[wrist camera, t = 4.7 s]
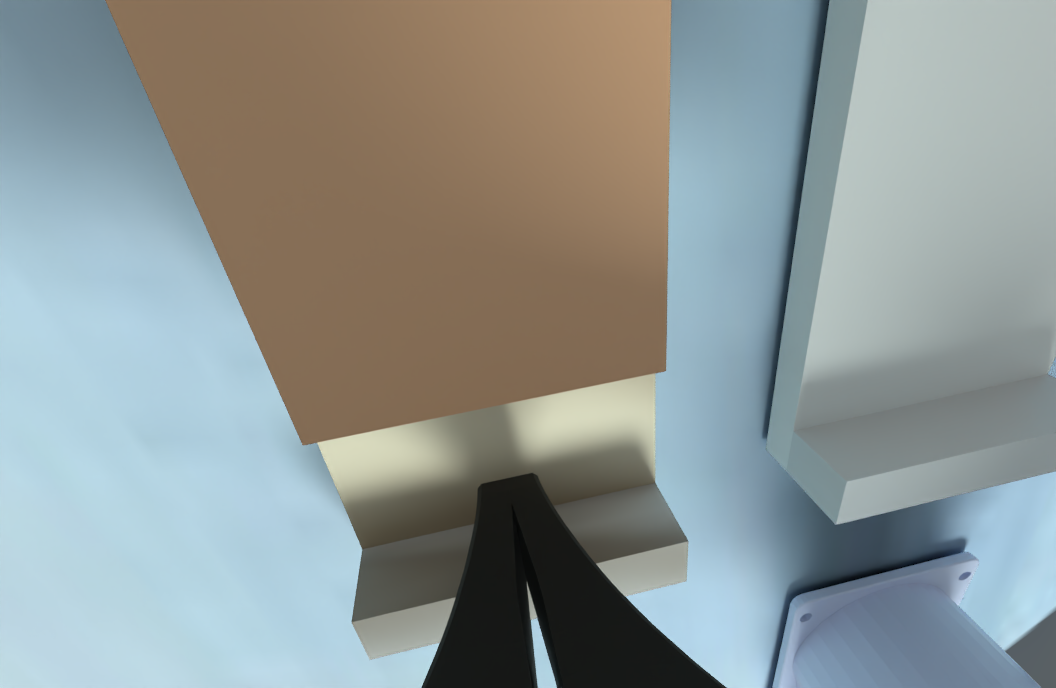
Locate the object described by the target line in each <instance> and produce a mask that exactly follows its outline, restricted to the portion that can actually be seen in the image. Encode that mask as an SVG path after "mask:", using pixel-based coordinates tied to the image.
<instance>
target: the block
mask: <svg viewBox="0 0 1056 688" xmlns="http://www.w3.org/2000/svg"><path fill="white" fill-rule="evenodd" d="M105 1H106V3H107V5H108V8H109V10H110V12H111V14H112V17H113V19H114V21H115V23H116V26H117V28H118V30H119V32H120V35H121V37H122V39H123V41H124V44H125V46H126V48H127V50H128V53H129V55H130V57H131V59H132V62H133V64H134V66H135V68H136V71H137V73H138V75H139V77H140V80H141V82H142V84H143V86H144V89H145V91H146V93H147V95H148V98H149V100H150V102H151V104H152V107H153V109H154V111H155V113H156V116H157V118H158V120H159V123H160V125H161V127H162V129H163V132H164V134H165V136H166V138H167V141H168V143H169V145H170V147H171V150H172V152H173V154H174V156H175V159H176V161H177V163H178V165H179V168H180V170H181V172H182V174H183V177H184V179H185V181H186V183H187V186H188V188H189V190H190V192H191V195H192V197H193V199H194V201H195V204H196V206H197V208H198V210H199V213H200V215H201V217H202V219H203V222H204V224H205V226H206V228H207V231H208V233H209V235H210V237H211V240H212V242H213V244H214V246H215V249H216V251H217V253H218V255H219V258H220V260H221V262H222V264H223V267H224V269H225V271H226V273H227V276H228V278H229V280H230V282H231V285H232V287H233V289H234V291H235V294H236V296H237V298H238V300H239V303H240V305H241V307H242V309H243V312H244V314H245V316H246V318H247V321H248V323H249V325H250V327H251V330H252V332H253V334H254V336H255V339H256V341H257V343H258V345H259V348H260V350H261V352H262V354H263V357H264V359H265V361H266V363H267V366H268V368H269V370H270V372H271V375H272V377H273V379H274V381H275V384H276V386H277V388H278V390H279V393H280V395H281V397H282V399H283V402H284V404H285V406H286V408H287V411H288V413H289V415H290V418H291V420H292V422H293V424H294V427H295V429H296V431H297V433H298V436H299V438H300V440H301V442H302V445H308V444H313V443H318V442H322V441H327V440H332V439H337V438H342V437H347V436H352V435H357V434H361V433H366V432H371V431H376V430H381V429H386V428H391V427H396V426H400V425H405V424H410V423H415V422H420V421H425V420H430V419H435V418H439V417H444V416H449V415H454V414H459V413H464V412H469V411H474V410H479V409H483V408H488V407H493V406H498V405H503V404H508V403H513V402H518V401H522V400H527V399H532V398H537V397H542V396H547V395H552V394H557V393H561V392H566V391H571V390H576V389H581V388H586V387H591V386H596V385H600V384H605V383H610V382H615V381H620V380H625V379H630V378H635V377H639V376H644V375H649V374H654V373H659V372H664V371H666V336H667V266H668V196H669V125H670V55H671V0H105Z"/></svg>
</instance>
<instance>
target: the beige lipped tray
mask: <svg viewBox="0 0 1056 688" xmlns="http://www.w3.org/2000/svg"><path fill="white" fill-rule="evenodd" d="M318 446H319V448H320V451H321V453H322V455H323V458H324V460H325V462H326V465H327V467H328V469H329V472H330V474H331V476H332V479H333V481H334V483H335V486H336V488H337V491H338V493H339V495H340V498H341V500H342V502H343V505H344V507H345V509H346V512H347V514H348V516H349V519H350V521H351V524H352V526H353V528H354V531H355V533H356V535H357V538H358V540H359V542H360V545H361V547H362V556H361V562H360V569H359V576H358V583H357V589H356V596H355V603H354V609H353V616H352V624H353V626H354V628H355V630H356V632H357V634H358V636H359V638H360V640H361V642H362V645H363V647H364V649H365V651H366V653H367V655H368V657H369V659H370V660H371V659H375V658H379V657H383V656H387V655H391V654H396V653H400V652H404V651H408V650H412V649H416V648H420V647H424V646H428V645H432V644H436V643H440V641H441V639H442V636H443V633H444V631H445V628H446V625H447V622H448V619H449V617H450V614H451V611H452V608H453V605H454V601H455V598H456V595H457V591H458V588H459V585H460V581H461V578H462V574H463V571H464V567H465V563H466V559H467V555H468V550H469V546H470V542H471V537H472V533H473V527H474V521H475V515H476V508H477V492H478V487H479V486H480V485H481V484H483V483H487V482H492V481H496V480H501V479H506V478H510V477H515V476H519V475H524V474H529V473H534V474H536V475H537V476H538V478H539V480H540V483H541V485H542V487H543V489H544V491H545V492H546V494H547V496H548V498H549V499H550V501H551V503H552V504H553V506H554V508H555V509H556V511H557V512H558V514H559V515H560V517H561V518H562V520H563V521H564V523H565V524H566V526H567V527H568V528H569V530H570V531H571V532H572V534H573V535H574V537H575V538H576V539H577V541H578V542H579V543H580V545H581V546H582V547H583V549H584V550H585V551H586V552H587V554H588V555H589V556H590V557H591V559H592V560H593V561H594V562H595V563H596V565H597V566H598V567H599V568H600V569H601V571H602V572H603V573H604V574H605V575H606V576H607V577H608V579H609V580H610V581H611V582H612V583H613V584H614V585H615V586H616V587H617V589H618V590H619V591H620V592H621V593H622V594H623V595H624V596H629V595H633V594H637V593H641V592H645V591H649V590H653V589H657V588H661V587H665V586H669V585H673V584H677V583H681V582H685V581H686V579H687V558H688V540H687V538H686V536H685V535H684V533H683V531H682V529H681V528H680V526H679V524H678V522H677V520H676V519H675V517H674V515H673V513H672V512H671V510H670V508H669V506H668V505H667V503H666V501H665V499H664V498H663V496H662V494H661V492H660V491H659V489H658V487H657V485H656V483H655V373H654V374H649V375H644V376H639V377H635V378H630V379H625V380H620V381H615V382H610V383H605V384H600V385H596V386H591V387H586V388H581V389H576V390H571V391H566V392H561V393H557V394H552V395H547V396H542V397H537V398H532V399H527V400H522V401H518V402H513V403H508V404H503V405H498V406H493V407H488V408H483V409H479V410H474V411H469V412H464V413H459V414H454V415H449V416H444V417H439V418H435V419H430V420H425V421H420V422H415V423H410V424H405V425H400V426H396V427H391V428H386V429H381V430H376V431H371V432H366V433H361V434H357V435H352V436H347V437H342V438H337V439H332V440H327V441H322V442H318ZM527 589H528V599H529V609H530V619H531V620H532V619H536V618H537V615H536V611H535V608H534V604H533V601H532V598H531V594H530V591H529V587H528V584H527Z"/></svg>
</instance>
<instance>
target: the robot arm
mask: <svg viewBox="0 0 1056 688" xmlns="http://www.w3.org/2000/svg"><path fill="white" fill-rule="evenodd" d="M978 565H979V560H978V559H977V558H976V557H975V556H974V555H972V554H971V553H969V552H962V553H958V554H954V555H950V556H947V557H943V558H939V559H935V560H931V561H927V562H923V563H919V564H915V565H912V566H908V567H904V568H900V569H896V570H892V571H888V572H884V573H880V574H877V575H873V576H869V577H865V578H861V579H857V580H853V581H849V582H845V583H842V584H838V585H834V586H830V587H826V588H822V589H818V590H814V591H810V592H807V593H803V594H800V595H798V596H796V597H795V598H794V599H793V600H792V601H791V603H790V608H789V613H788V617H787V622H786V626H785V631H784V636H783V640H782V645H781V649H780V654H779V659H778V663H777V668H776V673H775V677H774V682H773V686H772V688H1041V687H1040V686H1039V685H1038V684H1037V683H1036V682H1035V681H1034V680H1033V679H1032V678H1031V677H1030V676H1029V675H1028V674H1027V673H1026V672H1025V671H1024V670H1023V669H1022V668H1021V667H1020V666H1019V665H1018V664H1017V663H1016V662H1015V661H1014V660H1013V659H1012V658H1011V657H1010V656H1009V655H1008V654H1007V653H1006V652H1005V651H1004V650H1003V649H1002V648H1001V647H1000V646H999V645H998V644H997V643H996V642H995V641H994V640H993V639H992V638H991V637H990V636H989V635H988V634H986V633H985V632H984V631H983V630H982V629H981V628H980V627H979V626H978V625H977V624H976V623H975V622H974V621H973V620H972V619H971V618H970V617H969V616H968V615H967V614H966V613H965V612H964V611H963V610H962V609H961V608H960V607H959V604H960V602H961V600H962V598H963V596H964V594H965V592H966V590H967V588H968V586H969V584H970V582H971V580H972V578H973V576H974V574H975V571H976V569H977V567H978ZM527 584H528V587H529V591H530V594H531V598H532V601H533V604H534V608H535V611H536V615H537V618H538V622H539V625H540V629H541V632H542V636H543V639H544V643H545V646H546V649H547V653H548V656H549V660H550V663H551V667H552V670H553V674H554V677H555V681H556V685H557V688H726V687H725V686H724V685H722V684H721V683H720V682H719V681H718V680H716V679H715V678H714V677H713V676H711V675H710V674H709V673H708V672H706V671H705V670H704V669H703V668H702V667H700V666H699V665H698V664H697V663H695V662H694V661H693V660H692V659H691V658H690V657H689V656H688V655H686V654H685V653H684V652H683V651H682V650H681V649H680V648H679V647H677V646H676V645H675V644H674V643H673V642H672V641H671V640H670V639H668V638H667V637H666V636H665V635H664V634H663V633H662V632H661V631H659V630H658V629H657V628H656V627H655V626H654V625H653V624H652V623H651V622H650V621H649V620H648V619H647V618H646V617H645V616H644V615H643V614H642V613H641V612H640V611H639V610H638V609H637V608H636V607H635V606H634V605H633V604H632V603H631V602H630V601H629V600H628V599H627V598H626V597H625V596H624V595H623V594H622V593H621V592H620V591H619V590H618V589H617V587H616V586H615V585H614V584H613V583H612V582H611V581H610V580H609V579H608V577H607V576H606V575H605V574H604V573H603V572H602V571H601V569H600V568H599V567H598V566H597V565H596V563H595V562H594V561H593V560H592V559H591V557H590V556H589V555H588V554H587V552H586V551H585V550H584V549H583V547H582V546H581V545H580V543H579V542H578V541H577V539H576V538H575V537H574V535H573V534H572V532H571V531H570V530H569V528H568V527H567V526H566V524H565V523H564V521H563V520H562V518H561V517H560V515H559V514H558V512H557V511H556V509H555V508H554V506H553V504H552V503H551V501H550V499H549V498H548V496H547V494H546V492H545V491H544V489H543V487H542V485H541V483H540V480H539V478H538V476H537V475H536V474H534V473H529V474H524V475H519V476H515V477H510V478H506V479H501V480H496V481H492V482H487V483H483V484H481V485H480V486H479V487H478V492H477V508H476V515H475V521H474V527H473V533H472V537H471V542H470V546H469V550H468V555H467V559H466V563H465V567H464V571H463V574H462V578H461V581H460V585H459V588H458V591H457V595H456V598H455V601H454V605H453V608H452V611H451V614H450V617H449V619H448V622H447V625H446V628H445V631H444V633H443V636H442V639H441V641H440V644H439V647H438V649H437V652H436V654H435V657H434V659H433V662H432V664H431V666H430V669H429V671H428V673H427V676H426V678H425V681H424V683H423V685H422V688H538V686H537V678H536V668H535V658H534V648H533V638H532V629H531V619H530V609H529V599H528V589H527Z"/></svg>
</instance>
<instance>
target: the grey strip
mask: <svg viewBox="0 0 1056 688" xmlns="http://www.w3.org/2000/svg"><path fill="white" fill-rule="evenodd" d="M1055 357H1056V0H830V1H829V8H828V15H827V22H826V29H825V37H824V44H823V51H822V58H821V65H820V72H819V79H818V86H817V93H816V100H815V107H814V114H813V121H812V128H811V135H810V142H809V149H808V156H807V163H806V170H805V177H804V184H803V191H802V198H801V205H800V212H799V219H798V226H797V233H796V240H795V247H794V254H793V261H792V268H791V275H790V282H789V289H788V296H787V303H786V310H785V317H784V324H783V331H782V338H781V345H780V352H779V360H778V367H777V374H776V381H775V388H774V395H773V402H772V409H771V416H770V423H769V430H768V437H767V444H766V450H767V451H768V452H769V453H770V454H771V456H772V457H773V458H774V459H775V460H776V461H777V462H778V463H779V464H780V465H781V466H782V467H783V469H784V470H785V471H786V472H787V473H788V474H789V475H790V476H791V477H792V478H793V479H794V480H795V481H796V483H797V484H798V485H799V486H800V487H801V488H802V489H803V490H804V491H805V492H806V493H807V494H808V495H809V497H810V498H811V499H812V500H813V501H814V502H815V503H816V504H817V505H818V506H819V507H820V508H821V510H822V511H823V512H824V513H825V514H826V515H827V516H828V517H829V518H830V519H831V520H832V521H833V522H834V524H835V525H838V524H842V523H846V522H850V521H854V520H858V519H862V518H866V517H871V516H875V515H879V514H883V513H887V512H891V511H895V510H899V509H903V508H907V507H911V506H916V505H920V504H924V503H928V502H932V501H936V500H940V499H944V498H948V497H952V496H956V495H960V494H965V493H969V492H973V491H977V490H981V489H985V488H989V487H993V486H997V485H1001V484H1005V483H1010V482H1014V481H1018V480H1022V479H1026V478H1030V477H1034V476H1038V475H1042V474H1046V473H1050V472H1055V471H1056V378H1055V377H1052V376H1050V375H1048V372H1049V370H1050V368H1051V366H1052V363H1053V361H1054V359H1055Z"/></svg>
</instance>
